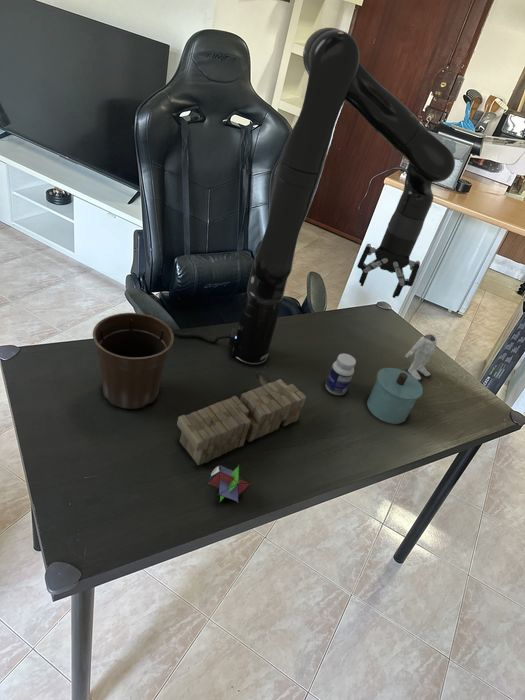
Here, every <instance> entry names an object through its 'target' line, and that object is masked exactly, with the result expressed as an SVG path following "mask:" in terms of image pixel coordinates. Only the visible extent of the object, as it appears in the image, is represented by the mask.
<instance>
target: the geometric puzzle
mask: <svg viewBox="0 0 525 700" xmlns="http://www.w3.org/2000/svg"><path fill="white" fill-rule="evenodd" d="M229 466H231V467H229ZM228 467H229V468H227V467H225V466H224V465H217V466H216V467H215V468H214V469H213V470H212V472H211V473H210V477H212V478H211V479H210V480H209V482H208V483H207V484H208V486H212V487H210V488H211V490H213V486H214V487H216V488H218V493H217V495H218V496H219V497H217V500H218V502H219V503H223V502H226V501H227V500H231V501H232V502H235V503H239V502H240V495H241V494H242V493H243V492H244V493H243V494H245V492H246V491H247V490H248V488H249V486H250V485H251V482H250V481H249V480H248V478H247V476H243V475H241V474H240V465H239V464H236V465H233V466H232V465H230V464H229V465H228ZM234 467H236V468H234ZM232 468H234V470H232ZM242 473H243V474H245V472H244V471H242ZM240 476H241V477H242V478H243V479H244V480H242V479H240ZM245 477H246V478H245ZM213 493H214V495H216V494H215V492H213ZM225 498H226V499H225Z"/></svg>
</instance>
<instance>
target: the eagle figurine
mask: <svg viewBox="0 0 525 700" xmlns="http://www.w3.org/2000/svg"><path fill="white" fill-rule="evenodd" d="M255 374H256V378H257V379H258V381H259V383H260V386H263V385H267V384H268V383H271V381H270V380H269V378H268V375H267V373H265V372H264V371H261V370H257V371H255Z"/></svg>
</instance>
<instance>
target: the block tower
mask: <svg viewBox="0 0 525 700" xmlns="http://www.w3.org/2000/svg"><path fill="white" fill-rule="evenodd" d="M306 400H307V396H306V395H305V394H304V393H303V392H302V391H301V390H299V389H298V388H297V387H296V386H295V385H294V384H293V383H291V384H288V385H287V384H286V382H285V381H284V380H282V379H281V378H280V379H277V380H275V381H272V382H270V383H268V384H267V385H263V386H262V385H260V386H258V387H256V388H253V389H251V390H248V391H246V392H243V393H241V396H240V399H239V397H238V396H236V395H233V396H231V397H230V398H227V399H224V400H221V401H218V402H216V403H215V402H214V404H211V405H208V406H205V407H203V408H202V409H198V410H196V411H192V412H191V413H189V414H183V415H179V416H178V417H177V422H176V426H177V427H178V429H179V430H180V431H181V433H180V438H179V443H180V444H181V446H182V447H183V448H184V449H185V450H186V451H187V453H188V454H189V455H190V457H191V458H192V459H193V461H194V462H195V463H196V465H197V466H201V465H203V464H206V463H209V462H210V461H212V460H215V458H219V457H221V456H222V455H224V454H227V453H229V452H231V451H233V450H235V449H237V448H241V447H243V446H244V445H245V442H246V441H247V442H248V443H250V442H253V441H254V440H257V439H259V438H261V437H264V436H265V435H268V434H270V433H273V432H274V431H277V430H279V428H280V426H282V427H286V426H288V425H290V424H292V423H295V422H297V421H298V419H299V417H300V415H301V412H302V409H303V408H304V405H305V403H306Z"/></svg>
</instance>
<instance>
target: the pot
mask: <svg viewBox="0 0 525 700" xmlns="http://www.w3.org/2000/svg"><path fill="white" fill-rule="evenodd" d="M423 391H424V389H423V386H422V384H421V382H420V380H417V379H416V378H415V377H413V376H412V375H411V374H410V373H409V372H408V371H405V370H403V369H399V368H395V367H384V368H382V369H380V370H379V371H378V372H377V374H376V381H375V383H374V386H373V388H372V390H371V392H370V394H369V396H368V398H367V401H366V405H367V408H368V410H369V412H370V413H371V414H372V415H373V416H374V417H375V418H377V419H378V420H380V421H382V422H384V423H387V424H392V425H398V424H399V425H400V424H402V423H404V422H405V421H406V420H407V418H408V417H409V414H410V412H411V411H412V409H413V408H414V405H415V403H416V402H417V400H418V399H420V398H421V397H422V396H423Z"/></svg>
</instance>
